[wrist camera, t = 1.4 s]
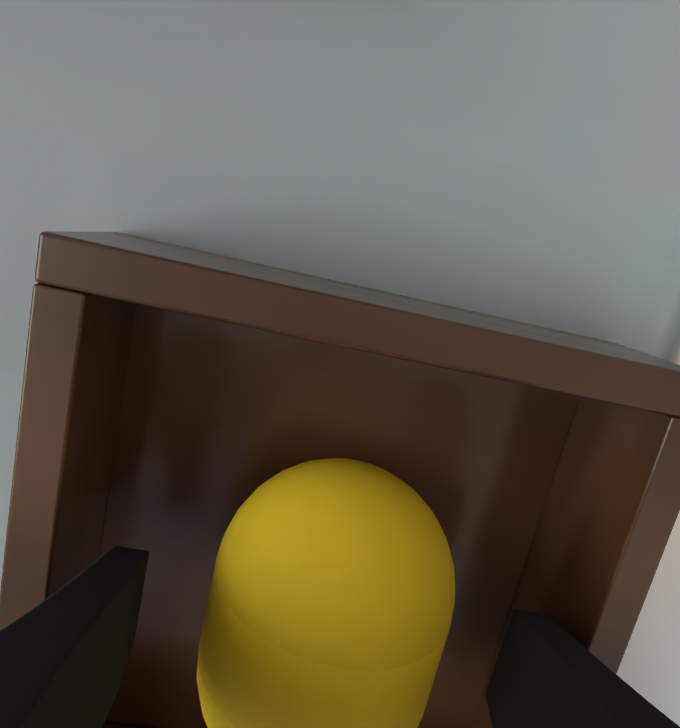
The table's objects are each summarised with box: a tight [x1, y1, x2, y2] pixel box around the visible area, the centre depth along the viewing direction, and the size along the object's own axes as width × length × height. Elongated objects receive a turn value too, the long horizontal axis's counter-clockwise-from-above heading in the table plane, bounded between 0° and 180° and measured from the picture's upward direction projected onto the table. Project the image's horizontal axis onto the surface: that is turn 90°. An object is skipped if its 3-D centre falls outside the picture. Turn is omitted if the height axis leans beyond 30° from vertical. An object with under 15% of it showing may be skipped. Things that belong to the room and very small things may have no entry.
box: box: [0, 232, 680, 728], centre depth 12 cm, size 13×12×4 cm
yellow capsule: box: [197, 458, 455, 728], centre depth 11 cm, size 6×5×5 cm
